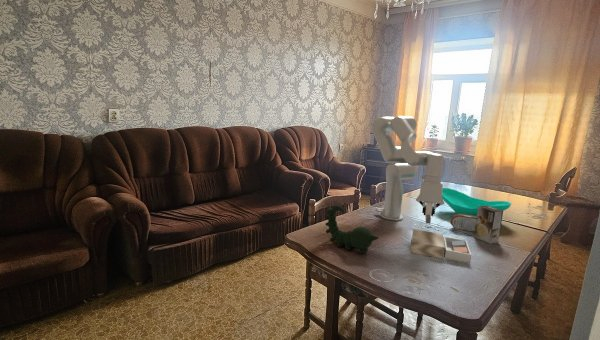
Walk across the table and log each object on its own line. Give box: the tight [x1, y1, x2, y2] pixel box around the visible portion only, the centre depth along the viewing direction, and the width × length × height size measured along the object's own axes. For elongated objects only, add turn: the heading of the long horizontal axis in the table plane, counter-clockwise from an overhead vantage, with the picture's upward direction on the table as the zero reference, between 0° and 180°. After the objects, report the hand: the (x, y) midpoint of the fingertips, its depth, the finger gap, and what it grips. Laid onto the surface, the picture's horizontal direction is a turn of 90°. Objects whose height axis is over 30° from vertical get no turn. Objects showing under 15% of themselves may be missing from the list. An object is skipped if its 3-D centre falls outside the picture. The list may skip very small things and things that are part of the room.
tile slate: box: [452, 239, 466, 250], centre depth 139 cm, size 5×5×2 cm
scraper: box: [424, 202, 433, 224], centre depth 155 cm, size 3×16×8 cm, turn 159°
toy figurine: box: [324, 205, 379, 255], centre depth 135 cm, size 9×19×25 cm
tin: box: [450, 213, 477, 233], centre depth 164 cm, size 15×3×8 cm, turn 71°
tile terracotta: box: [453, 247, 468, 254], centre depth 132 cm, size 5×5×2 cm
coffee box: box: [473, 205, 504, 244], centre depth 153 cm, size 9×6×16 cm
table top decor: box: [442, 187, 512, 216], centre depth 186 cm, size 40×28×13 cm
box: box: [443, 235, 472, 265], centre depth 136 cm, size 10×16×4 cm, turn 159°
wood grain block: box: [410, 228, 445, 259], centre depth 140 cm, size 13×16×5 cm
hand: (428, 214), depth 155 cm, fingers closed on scraper, 3 cm apart
